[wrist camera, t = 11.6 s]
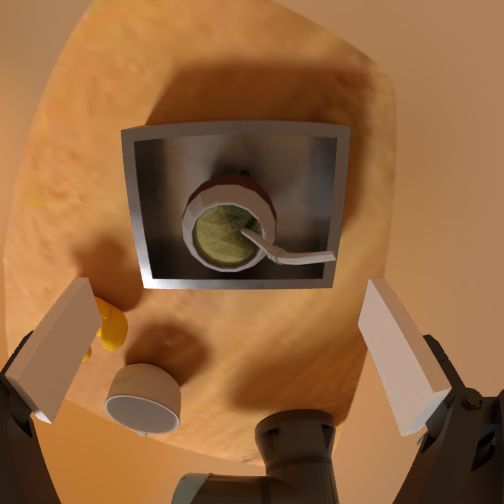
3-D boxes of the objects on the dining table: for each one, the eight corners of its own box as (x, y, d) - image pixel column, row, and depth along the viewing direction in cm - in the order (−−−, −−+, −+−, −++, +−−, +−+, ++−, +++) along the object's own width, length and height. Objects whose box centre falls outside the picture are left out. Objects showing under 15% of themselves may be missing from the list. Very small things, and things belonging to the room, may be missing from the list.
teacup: (125, 342, 37) (107, 386, 29) (196, 370, 39) (189, 416, 32) (113, 388, 42) (100, 425, 35) (170, 410, 45) (163, 448, 38)
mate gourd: (185, 220, 27) (133, 329, 14) (214, 142, 24) (170, 188, 11) (257, 247, 29) (264, 370, 15) (293, 175, 25) (341, 255, 12)
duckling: (66, 313, 34) (34, 363, 26) (57, 282, 32) (18, 331, 23) (137, 328, 35) (114, 388, 26) (133, 295, 33) (103, 356, 24)
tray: (319, 258, 30) (332, 287, 26) (159, 258, 30) (144, 287, 25) (331, 122, 24) (350, 126, 19) (144, 124, 24) (120, 130, 19)
